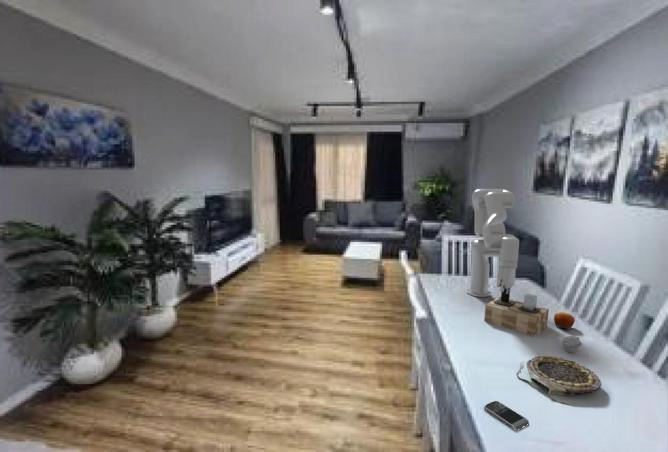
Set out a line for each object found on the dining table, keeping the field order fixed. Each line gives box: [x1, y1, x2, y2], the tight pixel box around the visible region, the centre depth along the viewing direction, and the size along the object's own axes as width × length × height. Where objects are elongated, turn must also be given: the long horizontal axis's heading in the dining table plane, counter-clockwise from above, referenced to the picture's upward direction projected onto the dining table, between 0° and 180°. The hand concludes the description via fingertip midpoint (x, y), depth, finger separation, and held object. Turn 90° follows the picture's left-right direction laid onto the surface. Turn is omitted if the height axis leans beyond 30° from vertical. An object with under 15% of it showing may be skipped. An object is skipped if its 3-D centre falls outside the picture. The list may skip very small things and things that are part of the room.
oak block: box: [483, 296, 549, 337], centre depth 170 cm, size 16×22×9 cm
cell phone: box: [483, 400, 530, 431], centre depth 105 cm, size 6×11×1 cm, turn 30°
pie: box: [516, 355, 602, 404], centre depth 123 cm, size 28×27×5 cm
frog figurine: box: [561, 335, 583, 354], centre depth 143 cm, size 6×7×7 cm
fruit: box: [553, 311, 576, 331], centre depth 166 cm, size 8×8×8 cm
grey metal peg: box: [523, 293, 538, 311], centre depth 165 cm, size 4×4×9 cm
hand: (504, 301), depth 173 cm, fingers closed
